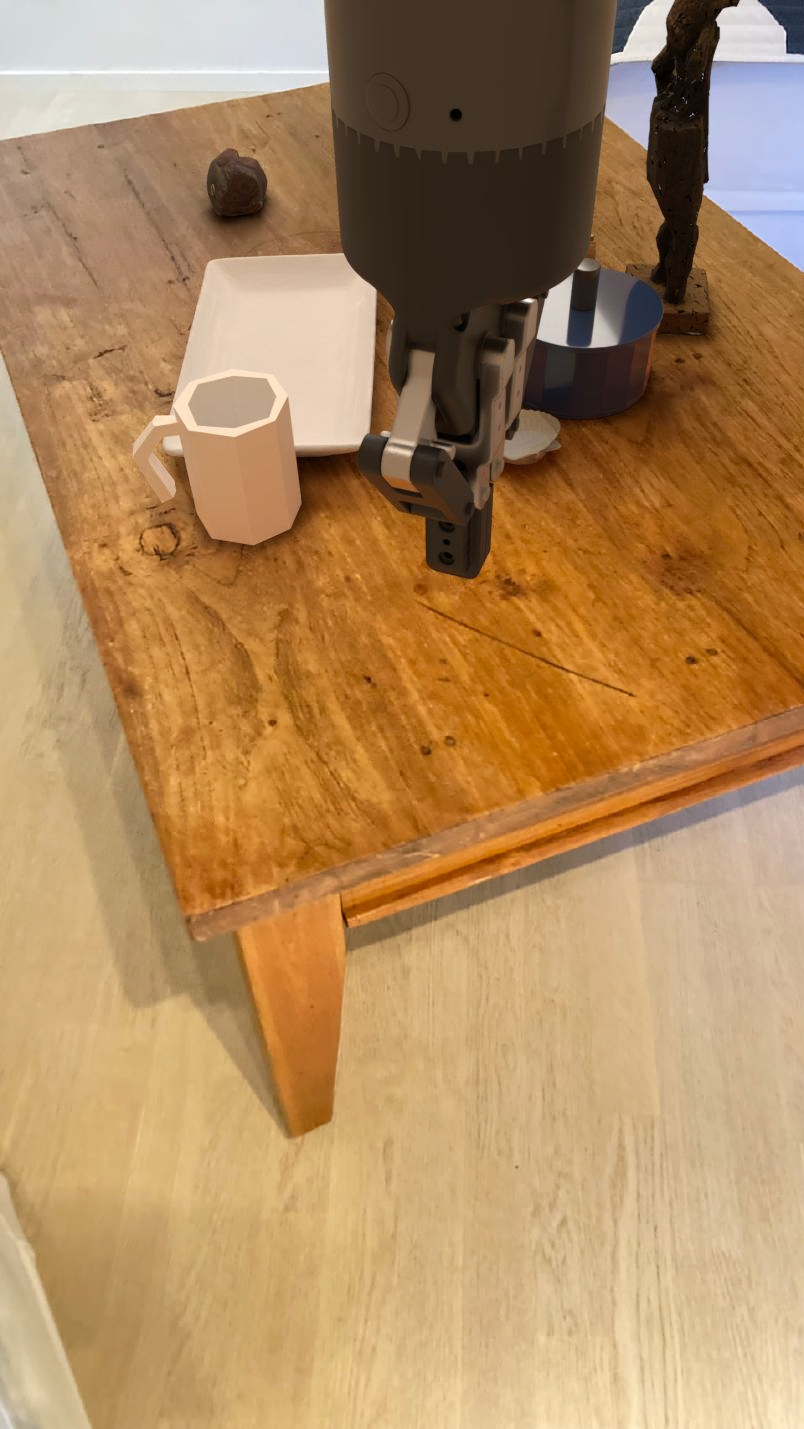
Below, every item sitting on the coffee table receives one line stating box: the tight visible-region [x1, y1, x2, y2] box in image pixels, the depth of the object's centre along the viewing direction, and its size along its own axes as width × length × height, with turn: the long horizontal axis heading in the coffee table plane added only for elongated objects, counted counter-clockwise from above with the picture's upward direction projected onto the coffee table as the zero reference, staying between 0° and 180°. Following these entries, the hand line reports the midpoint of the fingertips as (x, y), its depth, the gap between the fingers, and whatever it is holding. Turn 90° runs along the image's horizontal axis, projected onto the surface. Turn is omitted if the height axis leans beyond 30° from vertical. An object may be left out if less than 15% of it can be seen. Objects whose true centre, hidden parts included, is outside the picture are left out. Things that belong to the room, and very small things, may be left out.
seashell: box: [503, 408, 562, 466], centre depth 86 cm, size 8×3×8 cm
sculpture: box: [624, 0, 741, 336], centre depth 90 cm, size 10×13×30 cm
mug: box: [131, 369, 302, 546], centre depth 80 cm, size 12×9×10 cm
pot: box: [522, 330, 657, 421], centre depth 92 cm, size 13×13×6 cm
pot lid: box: [535, 258, 664, 353], centre depth 88 cm, size 13×13×5 cm
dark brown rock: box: [206, 147, 268, 217], centre depth 116 cm, size 6×7×10 cm
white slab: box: [161, 252, 378, 458], centre depth 94 cm, size 17×32×4 cm, turn 0°
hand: (458, 562), depth 42 cm, fingers closed
